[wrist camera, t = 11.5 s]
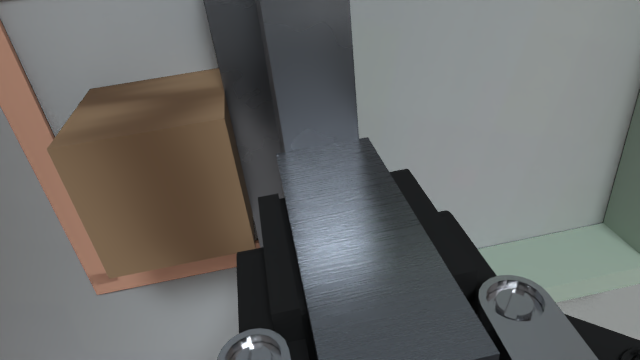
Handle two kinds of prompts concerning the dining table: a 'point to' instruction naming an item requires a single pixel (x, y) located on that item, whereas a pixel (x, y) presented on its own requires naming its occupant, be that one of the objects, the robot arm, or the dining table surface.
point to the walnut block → (156, 173)
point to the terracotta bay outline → (35, 137)
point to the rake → (335, 187)
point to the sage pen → (585, 241)
